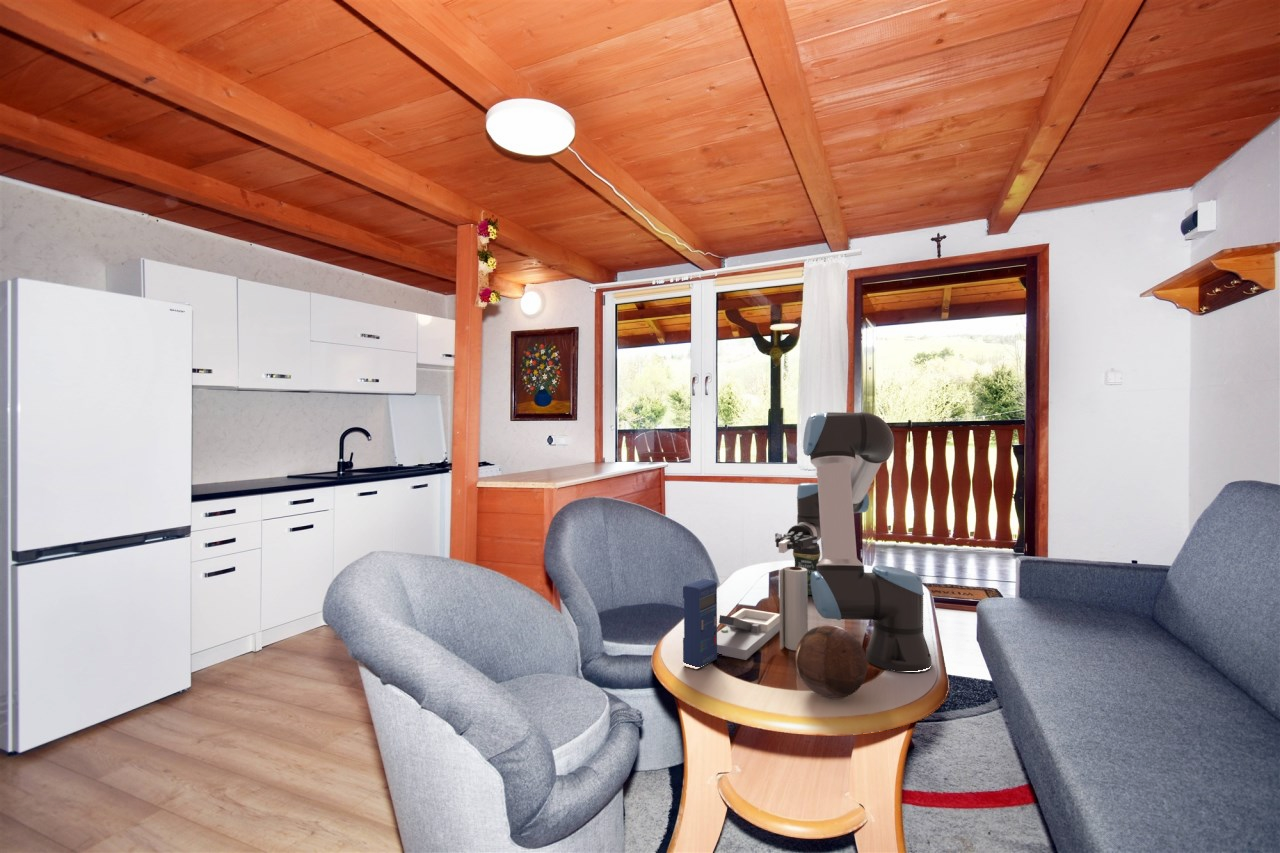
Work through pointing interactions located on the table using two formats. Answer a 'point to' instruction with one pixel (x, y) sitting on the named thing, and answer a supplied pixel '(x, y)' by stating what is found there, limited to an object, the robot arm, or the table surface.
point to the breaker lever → (735, 623)
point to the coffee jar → (807, 561)
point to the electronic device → (700, 622)
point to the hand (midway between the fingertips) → (781, 547)
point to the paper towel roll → (793, 606)
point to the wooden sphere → (831, 661)
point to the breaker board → (747, 633)
